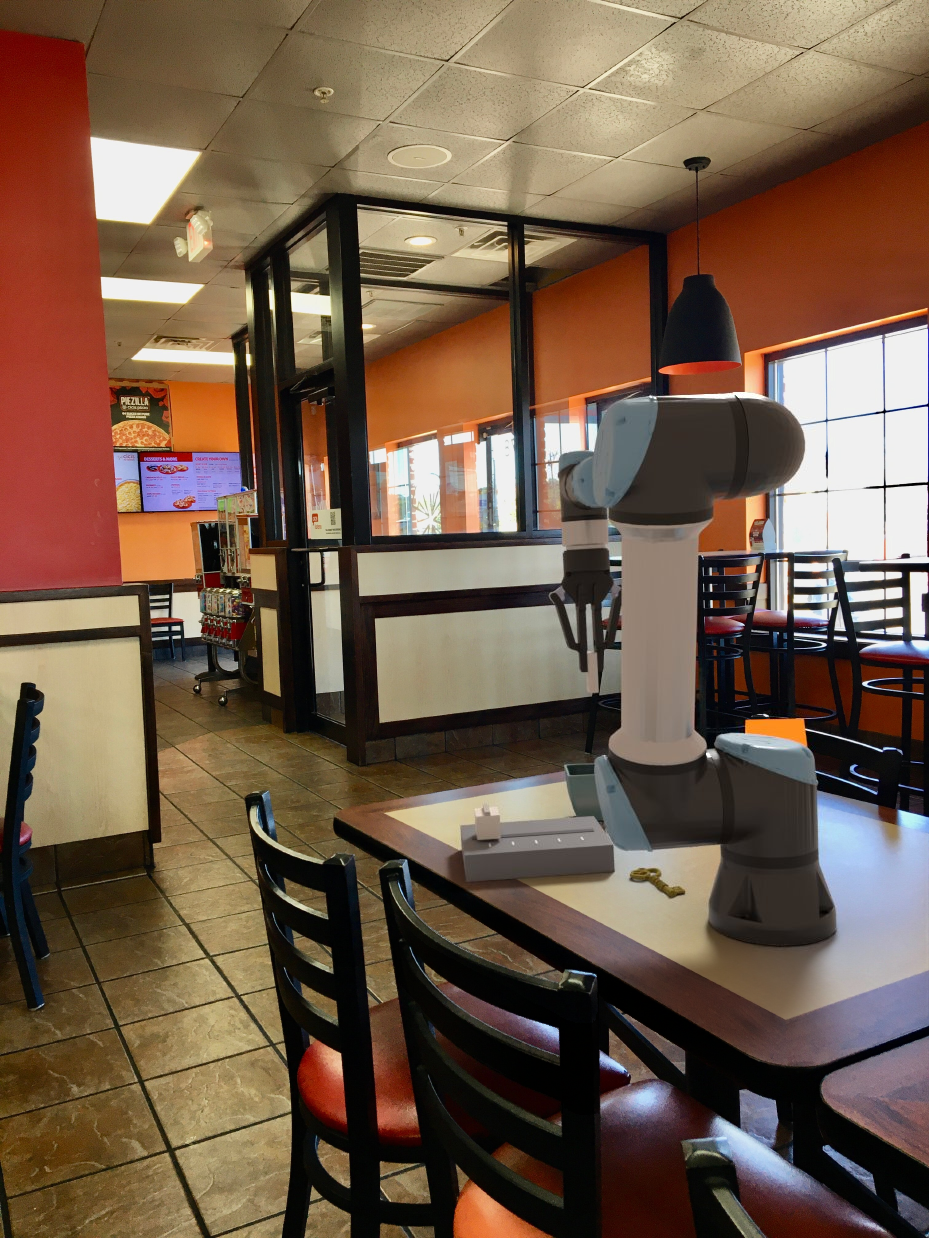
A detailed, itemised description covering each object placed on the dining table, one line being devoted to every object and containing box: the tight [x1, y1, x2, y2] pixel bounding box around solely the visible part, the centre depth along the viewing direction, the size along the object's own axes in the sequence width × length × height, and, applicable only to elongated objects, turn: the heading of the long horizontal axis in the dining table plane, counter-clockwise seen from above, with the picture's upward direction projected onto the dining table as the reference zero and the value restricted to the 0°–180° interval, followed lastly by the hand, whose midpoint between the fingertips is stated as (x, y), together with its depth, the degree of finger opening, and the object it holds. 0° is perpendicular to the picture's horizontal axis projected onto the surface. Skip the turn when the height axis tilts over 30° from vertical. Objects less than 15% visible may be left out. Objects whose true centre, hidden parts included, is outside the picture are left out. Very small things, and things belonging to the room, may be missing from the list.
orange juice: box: [745, 718, 808, 747], centre depth 148 cm, size 8×9×20 cm
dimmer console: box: [459, 816, 616, 883], centre depth 149 cm, size 16×22×4 cm
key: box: [629, 867, 686, 898], centre depth 136 cm, size 12×1×5 cm
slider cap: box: [473, 803, 501, 840], centre depth 148 cm, size 5×4×4 cm
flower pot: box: [563, 762, 604, 822], centre depth 170 cm, size 9×9×9 cm
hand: (592, 691), depth 157 cm, fingers closed
